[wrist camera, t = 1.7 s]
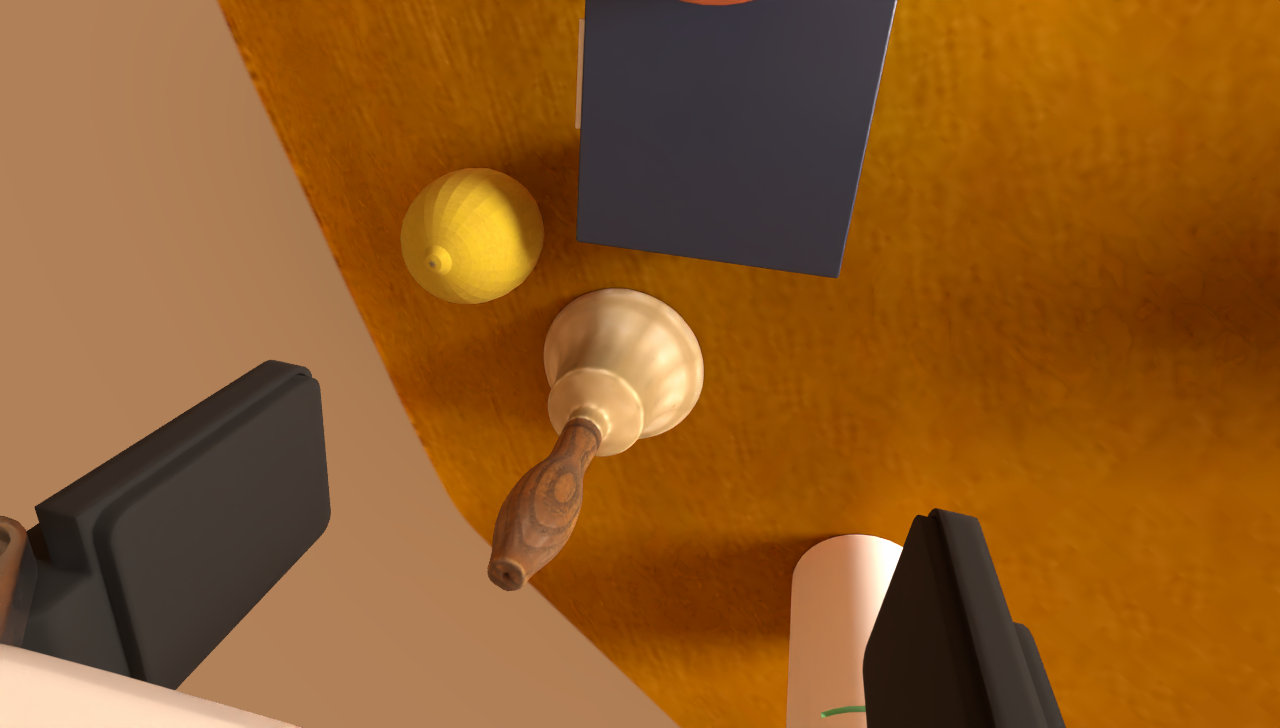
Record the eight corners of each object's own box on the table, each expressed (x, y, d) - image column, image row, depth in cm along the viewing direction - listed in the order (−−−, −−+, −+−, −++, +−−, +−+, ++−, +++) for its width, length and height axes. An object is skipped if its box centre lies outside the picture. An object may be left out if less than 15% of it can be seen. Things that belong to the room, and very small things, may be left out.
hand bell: (540, 280, 36) (361, 452, 22) (708, 294, 34) (633, 490, 20) (548, 426, 39) (399, 654, 25) (700, 445, 38) (631, 700, 24)
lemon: (434, 188, 35) (338, 232, 28) (525, 131, 33) (445, 163, 26) (497, 287, 36) (420, 352, 29) (587, 238, 34) (528, 296, 27)
